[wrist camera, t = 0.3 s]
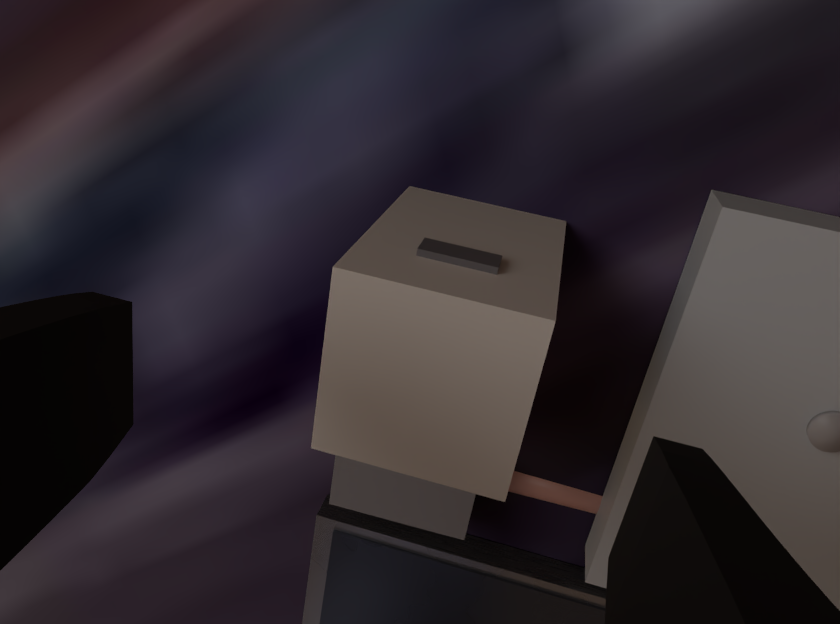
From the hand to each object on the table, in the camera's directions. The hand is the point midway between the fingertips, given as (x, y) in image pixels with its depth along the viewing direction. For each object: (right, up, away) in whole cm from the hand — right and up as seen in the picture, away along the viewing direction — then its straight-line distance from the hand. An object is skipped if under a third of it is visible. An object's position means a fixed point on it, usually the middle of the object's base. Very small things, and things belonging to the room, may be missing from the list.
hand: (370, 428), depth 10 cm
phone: (+3, -8, +13) cm, 16 cm away
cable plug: (+4, -3, +12) cm, 13 cm away
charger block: (+2, +2, +9) cm, 9 cm away
